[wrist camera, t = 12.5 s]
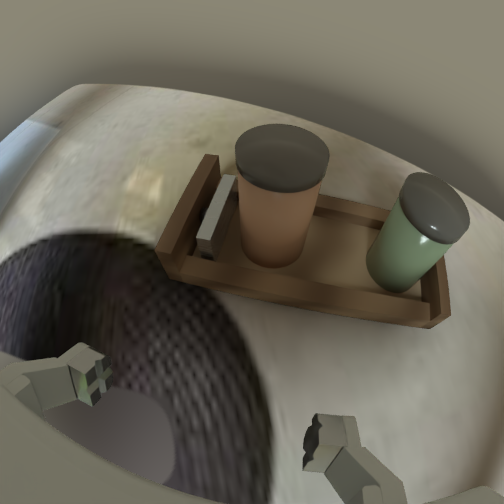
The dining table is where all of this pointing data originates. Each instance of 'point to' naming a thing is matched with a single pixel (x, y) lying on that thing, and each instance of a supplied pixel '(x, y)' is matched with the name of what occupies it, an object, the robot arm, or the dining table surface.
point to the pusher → (217, 218)
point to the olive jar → (416, 232)
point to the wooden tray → (301, 261)
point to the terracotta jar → (278, 190)
